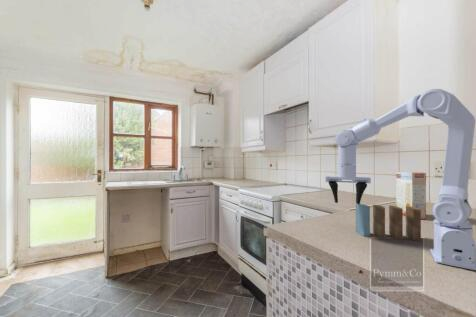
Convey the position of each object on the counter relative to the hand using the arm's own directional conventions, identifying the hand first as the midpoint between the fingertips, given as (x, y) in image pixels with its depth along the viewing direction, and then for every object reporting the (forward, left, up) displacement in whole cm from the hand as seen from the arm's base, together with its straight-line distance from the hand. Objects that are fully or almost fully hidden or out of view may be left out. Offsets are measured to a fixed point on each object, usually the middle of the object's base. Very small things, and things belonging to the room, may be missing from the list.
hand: (346, 203), depth 77 cm
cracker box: (+47, -21, -11) cm, 53 cm away
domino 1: (+2, -5, -10) cm, 12 cm away
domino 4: (+7, -19, -10) cm, 23 cm away
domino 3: (+5, -14, -10) cm, 18 cm away
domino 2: (+3, -9, -10) cm, 14 cm away
